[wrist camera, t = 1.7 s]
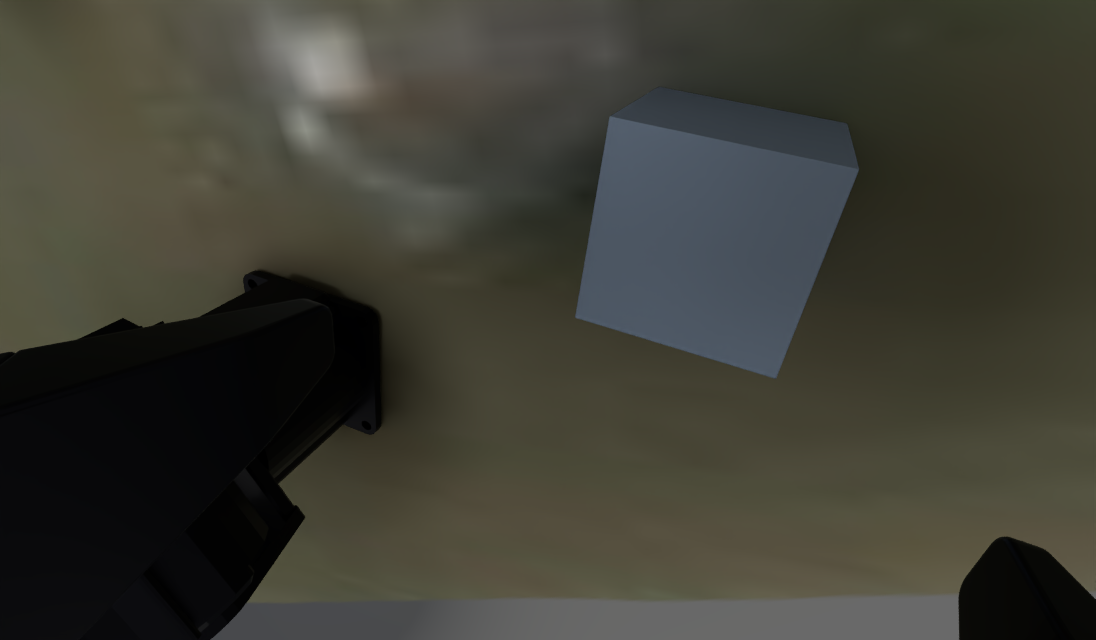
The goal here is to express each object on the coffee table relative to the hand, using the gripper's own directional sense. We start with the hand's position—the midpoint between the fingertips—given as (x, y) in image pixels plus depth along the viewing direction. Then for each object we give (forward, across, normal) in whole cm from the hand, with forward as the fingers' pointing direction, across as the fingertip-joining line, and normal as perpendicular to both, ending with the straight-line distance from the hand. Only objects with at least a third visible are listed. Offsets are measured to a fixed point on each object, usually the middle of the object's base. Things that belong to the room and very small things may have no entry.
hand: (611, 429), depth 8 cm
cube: (+12, 0, 0) cm, 12 cm away
